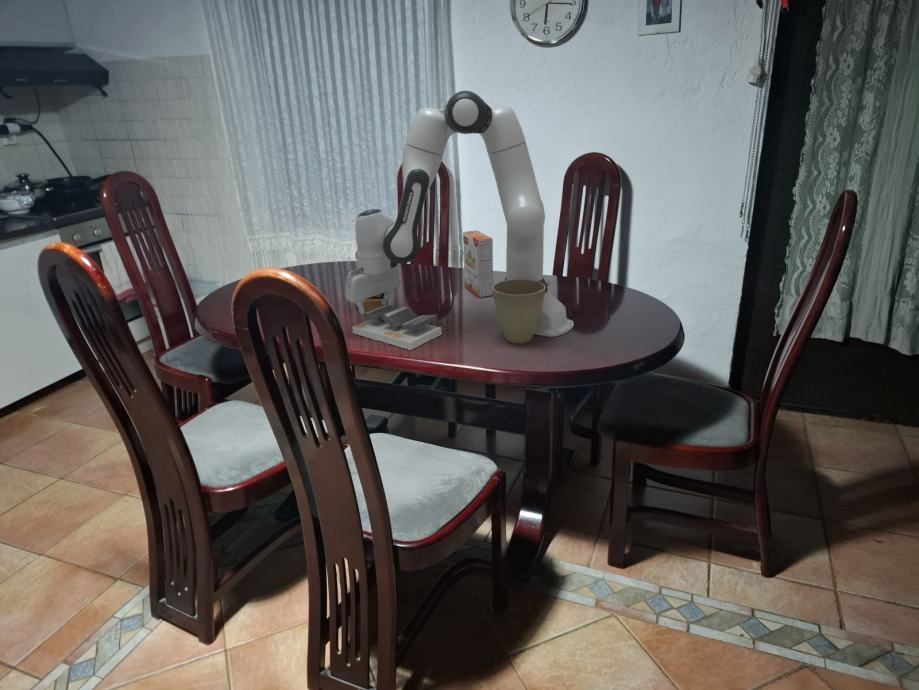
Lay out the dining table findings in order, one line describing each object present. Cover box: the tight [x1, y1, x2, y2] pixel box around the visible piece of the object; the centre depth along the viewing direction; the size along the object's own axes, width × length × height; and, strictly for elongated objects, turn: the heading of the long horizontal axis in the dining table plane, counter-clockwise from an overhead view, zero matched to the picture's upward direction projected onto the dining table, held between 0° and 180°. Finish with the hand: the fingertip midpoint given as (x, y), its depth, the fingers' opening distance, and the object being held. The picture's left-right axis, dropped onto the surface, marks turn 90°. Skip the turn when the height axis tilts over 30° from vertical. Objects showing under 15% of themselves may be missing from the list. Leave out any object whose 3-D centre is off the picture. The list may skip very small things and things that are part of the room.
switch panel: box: [352, 319, 443, 351], centre depth 185 cm, size 23×14×4 cm, turn 53°
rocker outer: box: [363, 305, 399, 322], centre depth 189 cm, size 6×10×2 cm, turn 143°
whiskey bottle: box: [355, 249, 392, 310], centre depth 205 cm, size 10×10×32 cm
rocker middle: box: [382, 305, 419, 330], centre depth 185 cm, size 6×10×2 cm
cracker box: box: [462, 230, 494, 299], centre depth 219 cm, size 14×6×21 cm, turn 21°
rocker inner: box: [401, 314, 439, 330], centre depth 181 cm, size 6×10×2 cm, turn 143°
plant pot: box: [492, 279, 546, 344], centre depth 177 cm, size 15×15×16 cm
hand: (374, 308), depth 191 cm, fingers open, 8 cm apart
